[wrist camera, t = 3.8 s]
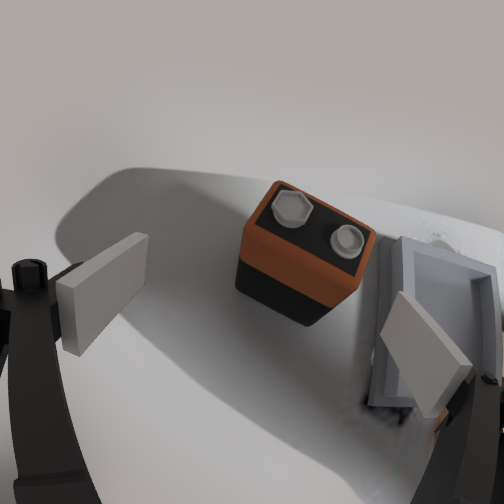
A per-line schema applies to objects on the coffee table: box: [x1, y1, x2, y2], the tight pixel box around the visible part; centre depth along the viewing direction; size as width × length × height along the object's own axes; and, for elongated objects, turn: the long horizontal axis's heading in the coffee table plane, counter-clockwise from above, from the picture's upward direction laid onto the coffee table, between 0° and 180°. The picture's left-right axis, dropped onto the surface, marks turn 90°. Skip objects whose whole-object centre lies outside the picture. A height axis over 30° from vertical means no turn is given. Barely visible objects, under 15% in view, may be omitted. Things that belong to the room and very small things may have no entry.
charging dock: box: [367, 236, 503, 407], centre depth 22 cm, size 15×15×3 cm
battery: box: [235, 181, 376, 326], centre depth 19 cm, size 4×7×10 cm, turn 62°
